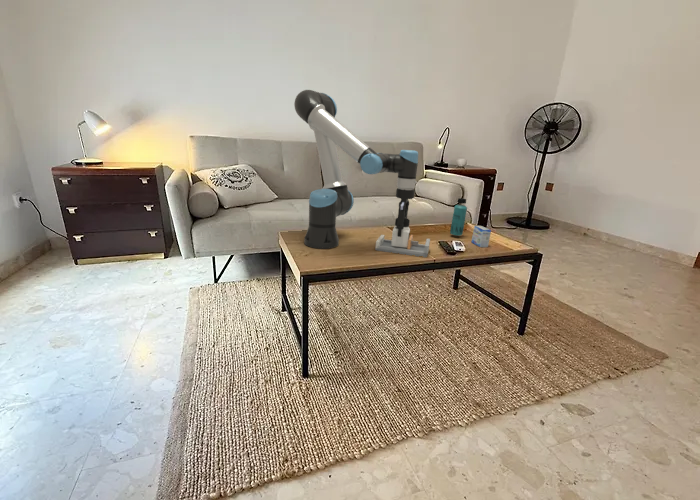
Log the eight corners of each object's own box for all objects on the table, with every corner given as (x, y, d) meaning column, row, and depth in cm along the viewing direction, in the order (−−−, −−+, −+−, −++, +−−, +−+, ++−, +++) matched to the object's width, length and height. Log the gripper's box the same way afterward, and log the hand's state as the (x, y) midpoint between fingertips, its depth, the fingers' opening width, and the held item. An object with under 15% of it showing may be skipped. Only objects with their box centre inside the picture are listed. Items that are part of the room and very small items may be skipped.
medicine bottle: (407, 248, 147) (410, 220, 144) (391, 246, 149) (393, 219, 145) (408, 243, 154) (411, 217, 150) (392, 241, 155) (395, 215, 152)
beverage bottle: (450, 234, 183) (456, 196, 177) (463, 236, 181) (469, 198, 175) (448, 237, 178) (454, 198, 172) (461, 239, 175) (468, 200, 169)
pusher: (407, 250, 147) (408, 239, 145) (409, 245, 155) (410, 234, 153) (416, 252, 146) (418, 240, 144) (418, 246, 154) (419, 235, 152)
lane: (375, 250, 149) (376, 239, 147) (380, 242, 160) (381, 232, 158) (426, 257, 144) (428, 246, 142) (428, 249, 155) (430, 238, 153)
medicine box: (470, 242, 171) (473, 225, 168) (479, 242, 172) (482, 225, 169) (479, 247, 163) (483, 229, 161) (488, 247, 164) (491, 229, 162)
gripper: (412, 192, 134) (405, 248, 141) (417, 186, 152) (411, 236, 159) (392, 190, 136) (387, 246, 143) (400, 185, 154) (395, 234, 161)
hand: (400, 240), depth 151 cm, fingers closed on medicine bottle, 7 cm apart
